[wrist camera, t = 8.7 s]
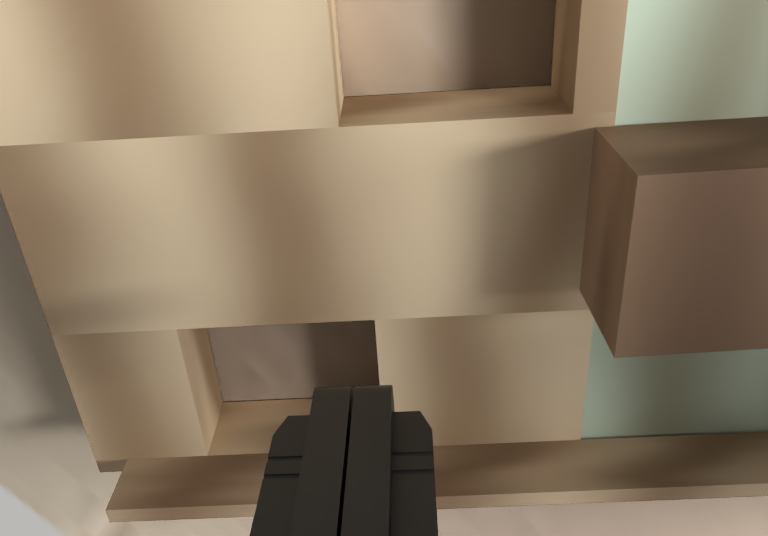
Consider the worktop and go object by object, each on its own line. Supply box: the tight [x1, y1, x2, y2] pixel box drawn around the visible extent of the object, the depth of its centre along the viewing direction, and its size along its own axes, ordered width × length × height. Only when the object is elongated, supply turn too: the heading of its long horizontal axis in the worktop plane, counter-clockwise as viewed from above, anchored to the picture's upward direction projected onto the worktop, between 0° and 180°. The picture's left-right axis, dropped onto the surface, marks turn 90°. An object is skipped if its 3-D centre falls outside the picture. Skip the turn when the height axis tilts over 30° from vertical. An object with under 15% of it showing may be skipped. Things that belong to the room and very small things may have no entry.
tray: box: [0, 0, 768, 522], centre depth 18 cm, size 22×16×4 cm
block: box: [580, 117, 768, 358], centre depth 16 cm, size 4×4×3 cm
